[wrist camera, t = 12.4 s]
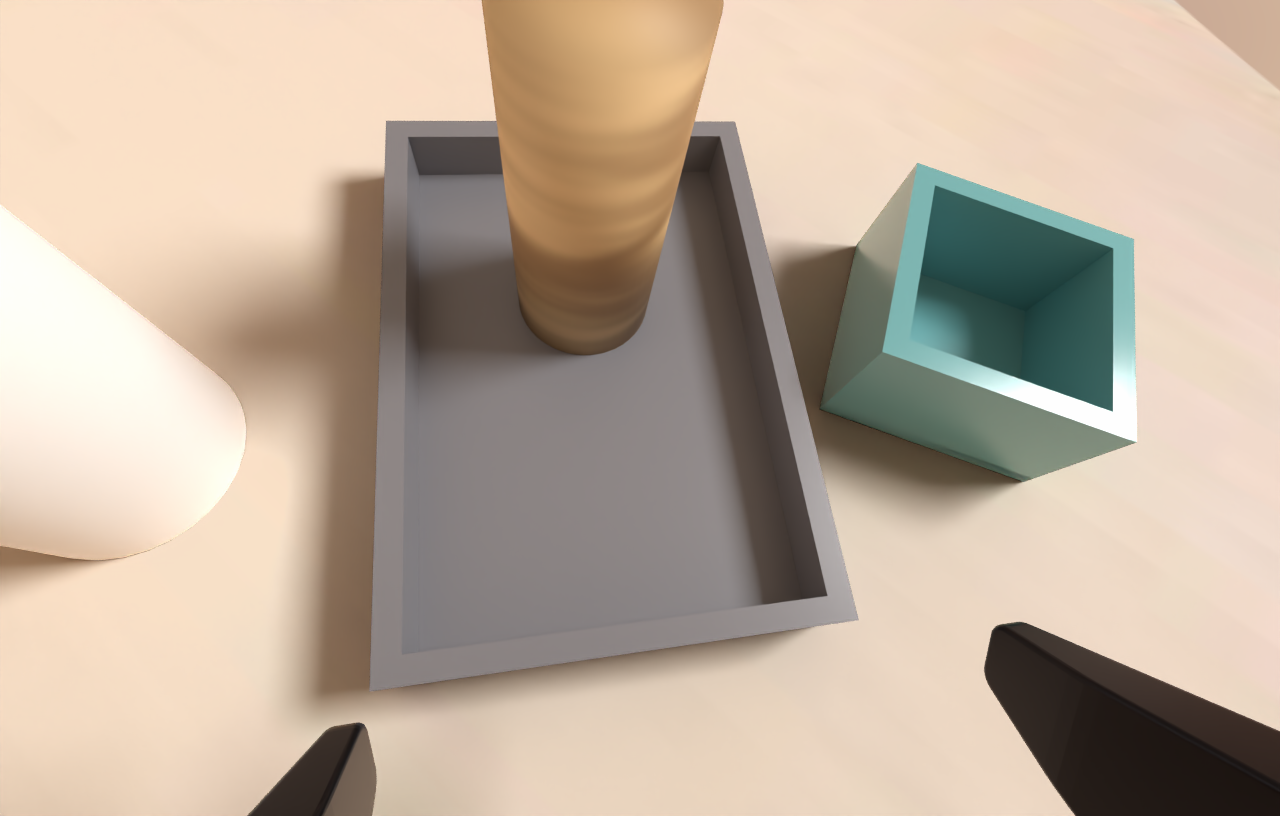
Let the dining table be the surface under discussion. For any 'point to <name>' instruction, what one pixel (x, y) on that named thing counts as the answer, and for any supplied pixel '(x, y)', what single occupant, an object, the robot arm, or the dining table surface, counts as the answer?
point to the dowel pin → (593, 151)
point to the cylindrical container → (100, 414)
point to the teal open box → (988, 330)
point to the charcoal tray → (584, 437)
